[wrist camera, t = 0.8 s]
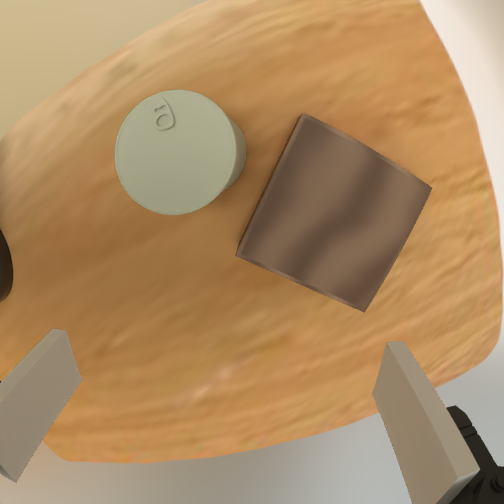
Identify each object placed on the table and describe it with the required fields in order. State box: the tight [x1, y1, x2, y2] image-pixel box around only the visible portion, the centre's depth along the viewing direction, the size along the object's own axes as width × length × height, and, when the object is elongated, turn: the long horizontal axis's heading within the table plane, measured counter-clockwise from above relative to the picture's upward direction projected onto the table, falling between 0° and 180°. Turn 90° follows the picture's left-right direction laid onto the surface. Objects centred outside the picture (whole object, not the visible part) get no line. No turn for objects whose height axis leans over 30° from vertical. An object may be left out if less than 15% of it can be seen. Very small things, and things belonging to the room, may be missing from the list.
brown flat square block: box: [235, 113, 432, 312], centre depth 31 cm, size 15×15×4 cm
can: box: [114, 90, 247, 215], centre depth 26 cm, size 9×9×12 cm
